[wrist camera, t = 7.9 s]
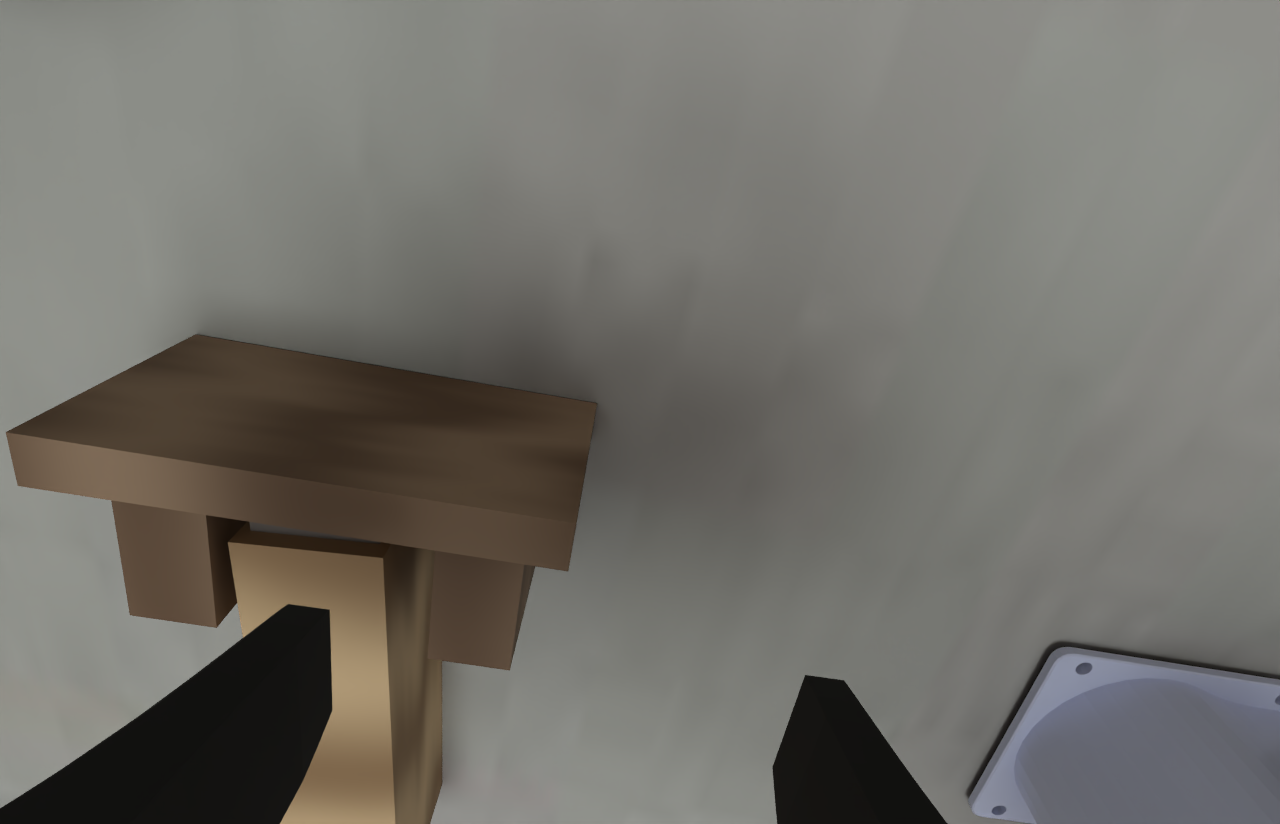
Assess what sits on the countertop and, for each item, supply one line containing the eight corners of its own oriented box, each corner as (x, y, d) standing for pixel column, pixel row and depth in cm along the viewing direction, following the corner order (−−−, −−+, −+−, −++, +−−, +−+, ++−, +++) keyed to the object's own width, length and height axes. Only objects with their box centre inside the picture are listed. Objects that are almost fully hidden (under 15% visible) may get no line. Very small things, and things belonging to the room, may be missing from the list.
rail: (322, 427, 20) (224, 524, 15) (442, 440, 20) (382, 539, 16) (350, 770, 26) (286, 912, 21) (443, 778, 26) (400, 922, 21)
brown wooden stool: (597, 403, 19) (576, 523, 14) (571, 553, 21) (544, 709, 16) (195, 334, 19) (5, 431, 13) (210, 496, 21) (51, 639, 15)
